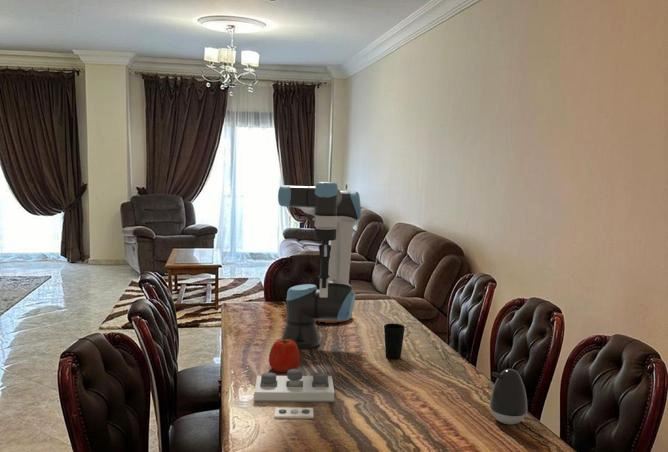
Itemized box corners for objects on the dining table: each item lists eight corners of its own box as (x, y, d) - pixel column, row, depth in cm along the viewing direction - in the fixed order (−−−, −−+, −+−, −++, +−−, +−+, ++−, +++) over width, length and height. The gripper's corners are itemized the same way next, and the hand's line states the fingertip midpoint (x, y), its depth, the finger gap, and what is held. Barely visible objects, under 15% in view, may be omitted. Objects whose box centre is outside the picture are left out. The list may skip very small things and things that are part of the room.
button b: (287, 383, 188) (287, 368, 188) (301, 383, 189) (302, 368, 188) (287, 389, 184) (287, 373, 183) (302, 389, 184) (302, 374, 184)
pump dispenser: (483, 413, 175) (486, 363, 174) (517, 413, 176) (521, 363, 175) (495, 428, 165) (499, 375, 164) (532, 428, 166) (535, 375, 165)
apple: (286, 361, 216) (287, 333, 215) (306, 369, 208) (307, 340, 207) (262, 368, 208) (263, 338, 207) (282, 376, 200) (283, 346, 199)
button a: (312, 387, 189) (313, 372, 189) (327, 387, 189) (327, 373, 189) (313, 393, 185) (313, 378, 184) (328, 393, 185) (328, 378, 184)
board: (257, 384, 193) (257, 375, 192) (331, 385, 194) (331, 376, 194) (254, 401, 179) (254, 392, 179) (334, 402, 180) (334, 392, 180)
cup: (402, 361, 219) (403, 329, 218) (381, 359, 221) (383, 328, 220) (404, 355, 227) (405, 324, 226) (384, 353, 228) (385, 322, 227)
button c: (261, 387, 188) (261, 372, 188) (276, 387, 188) (276, 372, 188) (260, 392, 183) (260, 377, 183) (275, 393, 184) (275, 377, 183)
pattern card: (275, 409, 174) (275, 406, 174) (313, 409, 174) (313, 406, 174) (274, 418, 168) (274, 415, 168) (313, 418, 168) (313, 415, 168)
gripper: (313, 225, 207) (311, 292, 210) (314, 229, 194) (312, 301, 197) (335, 226, 208) (333, 292, 210) (337, 230, 195) (335, 301, 197)
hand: (323, 296), depth 203 cm, fingers closed
